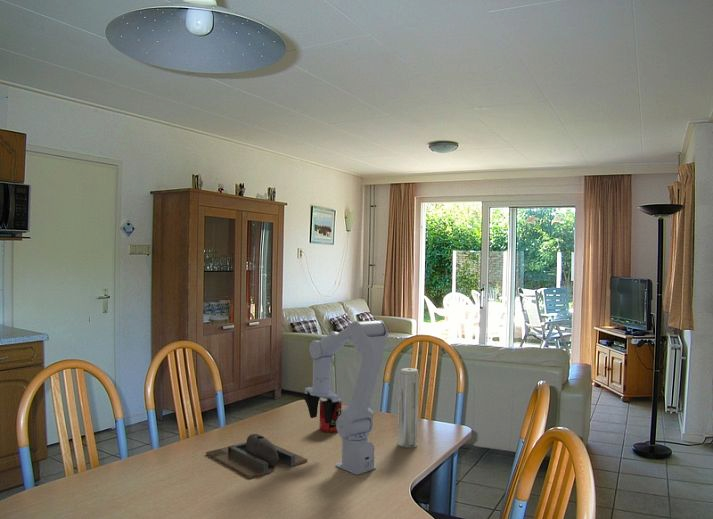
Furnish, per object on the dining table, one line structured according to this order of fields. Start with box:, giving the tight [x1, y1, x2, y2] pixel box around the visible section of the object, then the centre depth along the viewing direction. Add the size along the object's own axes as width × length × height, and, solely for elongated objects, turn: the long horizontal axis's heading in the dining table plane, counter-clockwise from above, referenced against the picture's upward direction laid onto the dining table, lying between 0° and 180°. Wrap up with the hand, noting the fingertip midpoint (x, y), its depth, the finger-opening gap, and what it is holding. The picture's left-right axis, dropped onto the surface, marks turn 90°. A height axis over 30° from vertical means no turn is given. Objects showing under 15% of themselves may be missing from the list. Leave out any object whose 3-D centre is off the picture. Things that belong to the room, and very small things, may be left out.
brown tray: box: [205, 441, 308, 480], centre depth 170 cm, size 25×20×3 cm
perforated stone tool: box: [245, 433, 279, 467], centre depth 167 cm, size 15×5×7 cm, turn 38°
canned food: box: [319, 396, 343, 433], centre depth 200 cm, size 8×8×11 cm
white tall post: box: [397, 367, 420, 449], centre depth 185 cm, size 6×6×25 cm
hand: (320, 420), depth 179 cm, fingers open, 7 cm apart
